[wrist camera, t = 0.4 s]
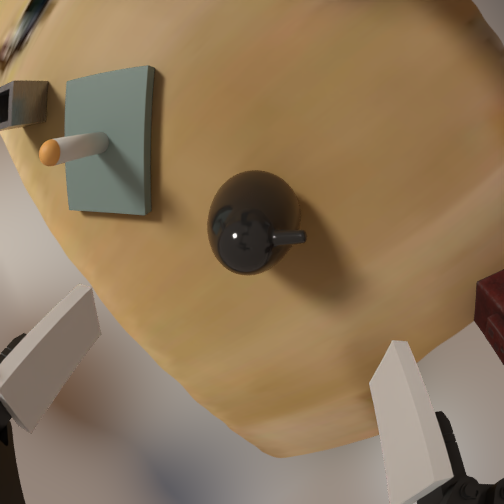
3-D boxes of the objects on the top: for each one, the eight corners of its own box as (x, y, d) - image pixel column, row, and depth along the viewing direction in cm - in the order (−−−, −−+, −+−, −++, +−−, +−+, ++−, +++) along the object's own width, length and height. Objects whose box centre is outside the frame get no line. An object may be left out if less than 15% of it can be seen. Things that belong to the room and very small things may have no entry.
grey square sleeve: (23, 89, 32) (-9, 91, 25) (48, 81, 32) (13, 80, 24) (22, 126, 35) (-11, 133, 28) (46, 121, 34) (11, 126, 27)
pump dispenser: (308, 233, 38) (319, 297, 24) (232, 250, 40) (204, 316, 26) (290, 157, 34) (292, 176, 20) (209, 178, 36) (163, 211, 22)
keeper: (74, 82, 32) (9, 79, 19) (154, 67, 31) (95, 48, 18) (76, 206, 40) (18, 237, 28) (151, 211, 39) (98, 249, 27)
